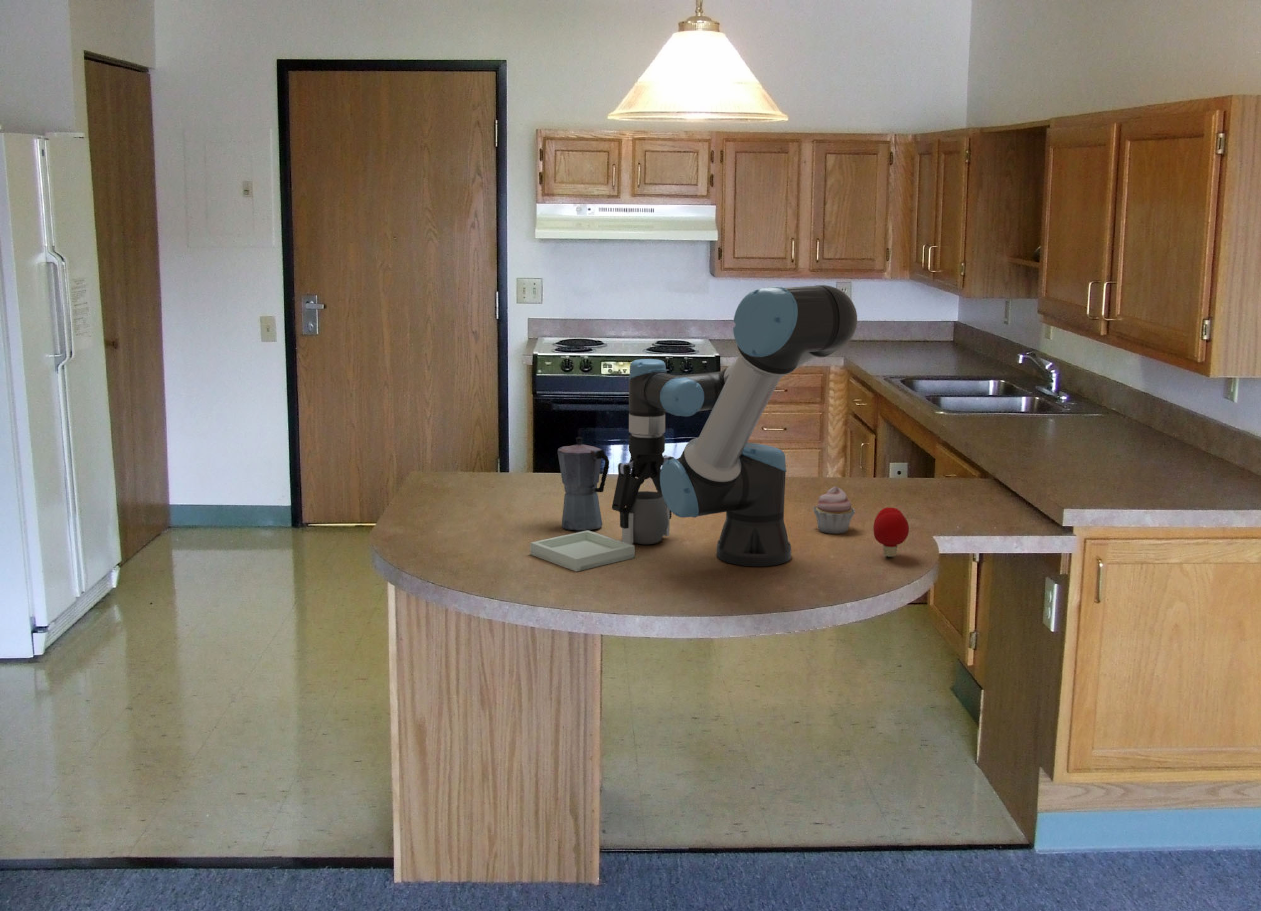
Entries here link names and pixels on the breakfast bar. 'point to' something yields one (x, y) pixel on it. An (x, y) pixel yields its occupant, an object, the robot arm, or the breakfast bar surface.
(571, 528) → the moka pot
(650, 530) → the cup
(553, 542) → the tray
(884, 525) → the light bulb
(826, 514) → the cupcake
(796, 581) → the breakfast bar surface
